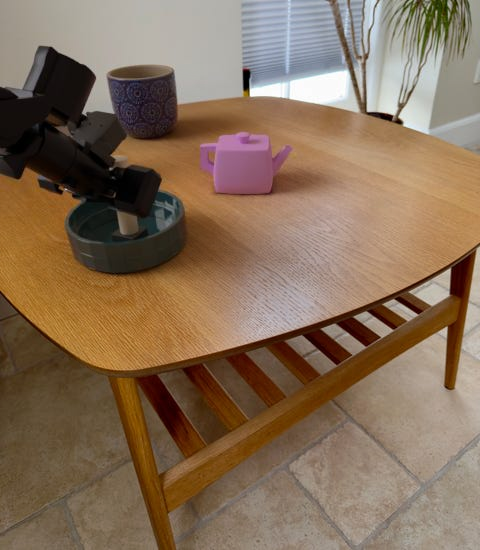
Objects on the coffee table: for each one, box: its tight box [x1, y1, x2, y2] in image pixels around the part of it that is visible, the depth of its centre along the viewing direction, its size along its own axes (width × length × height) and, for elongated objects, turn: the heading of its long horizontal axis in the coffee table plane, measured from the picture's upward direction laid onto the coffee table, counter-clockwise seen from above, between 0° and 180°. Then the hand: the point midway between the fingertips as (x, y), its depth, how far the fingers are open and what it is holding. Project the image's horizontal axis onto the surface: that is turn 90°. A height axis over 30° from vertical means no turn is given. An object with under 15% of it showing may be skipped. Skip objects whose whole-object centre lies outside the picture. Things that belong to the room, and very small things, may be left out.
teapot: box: [199, 131, 294, 195], centre depth 85 cm, size 18×10×10 cm, turn 86°
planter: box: [106, 64, 179, 139], centre depth 110 cm, size 16×16×15 cm
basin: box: [64, 188, 188, 274], centre depth 69 cm, size 18×18×6 cm
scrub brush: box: [109, 154, 148, 242], centre depth 65 cm, size 4×4×14 cm
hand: (133, 202), depth 66 cm, fingers closed on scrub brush, 3 cm apart
